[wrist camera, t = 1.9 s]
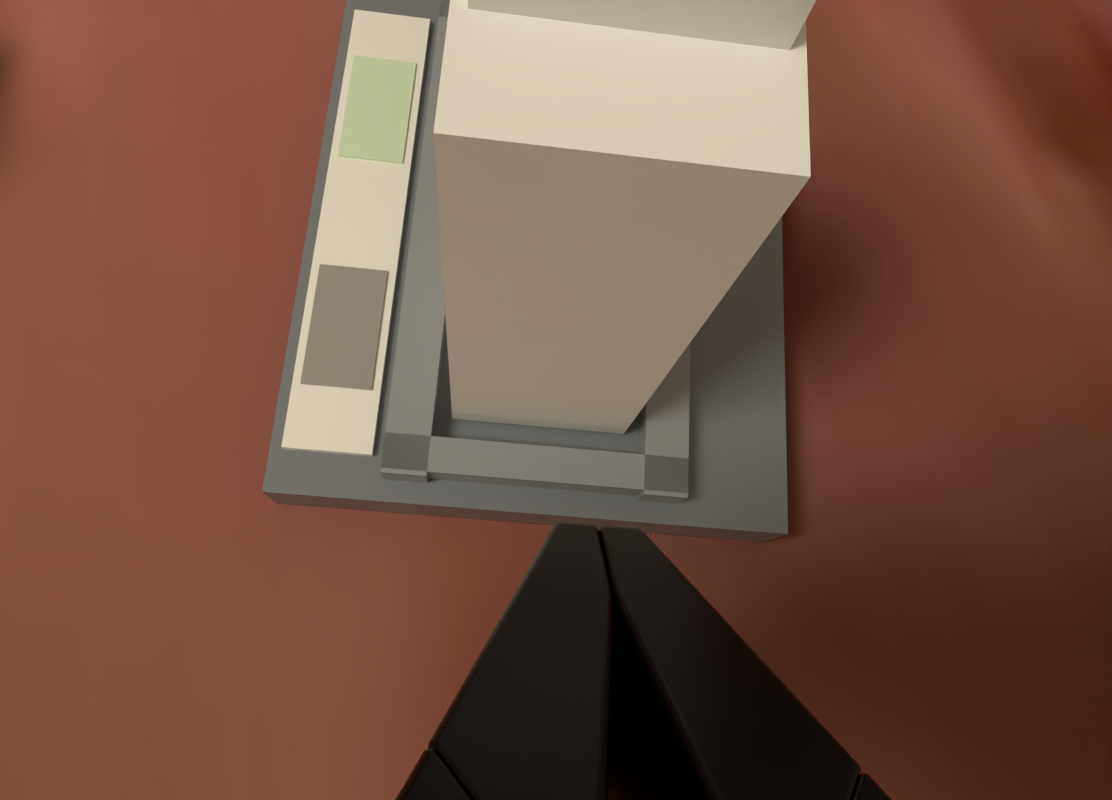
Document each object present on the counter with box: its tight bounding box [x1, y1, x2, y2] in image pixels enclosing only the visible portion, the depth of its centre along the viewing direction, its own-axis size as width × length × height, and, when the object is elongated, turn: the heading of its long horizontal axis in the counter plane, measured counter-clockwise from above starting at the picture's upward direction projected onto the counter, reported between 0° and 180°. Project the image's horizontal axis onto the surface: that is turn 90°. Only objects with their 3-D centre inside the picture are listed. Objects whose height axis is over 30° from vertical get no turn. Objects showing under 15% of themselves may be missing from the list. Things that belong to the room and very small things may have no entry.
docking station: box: [262, 0, 788, 542], centre depth 21 cm, size 14×12×2 cm
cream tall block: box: [433, 0, 816, 434], centre depth 14 cm, size 4×4×12 cm
